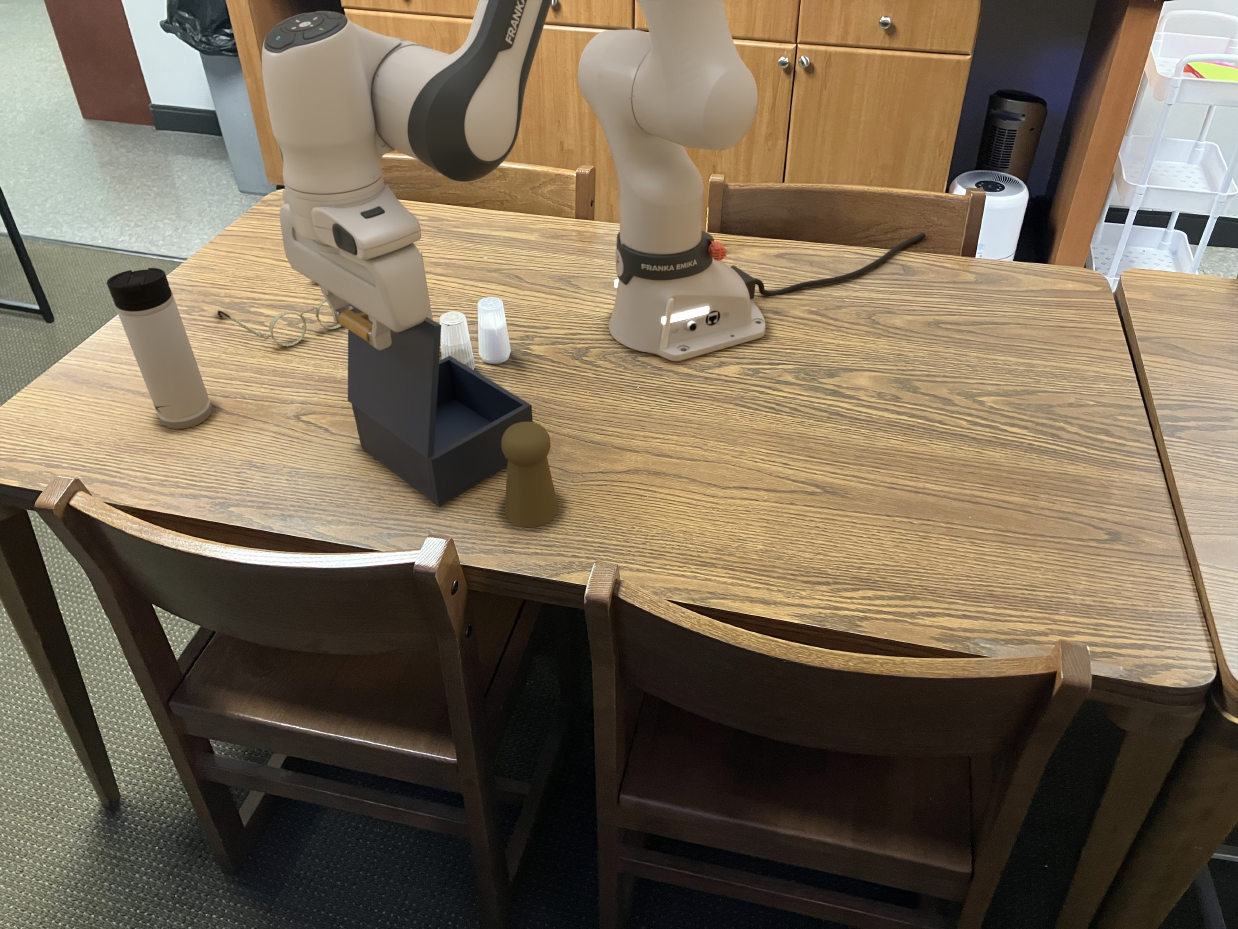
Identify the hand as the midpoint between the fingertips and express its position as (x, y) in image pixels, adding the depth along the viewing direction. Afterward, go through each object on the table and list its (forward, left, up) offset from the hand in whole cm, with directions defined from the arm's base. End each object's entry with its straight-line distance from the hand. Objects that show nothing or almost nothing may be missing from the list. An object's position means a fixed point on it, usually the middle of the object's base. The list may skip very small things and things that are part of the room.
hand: (363, 334), depth 96 cm
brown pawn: (-14, +9, -20) cm, 26 cm away
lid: (-2, -1, -5) cm, 6 cm away
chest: (-7, -4, -20) cm, 21 cm away
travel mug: (+24, -20, -20) cm, 37 cm away
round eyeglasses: (+11, -42, -20) cm, 48 cm away
